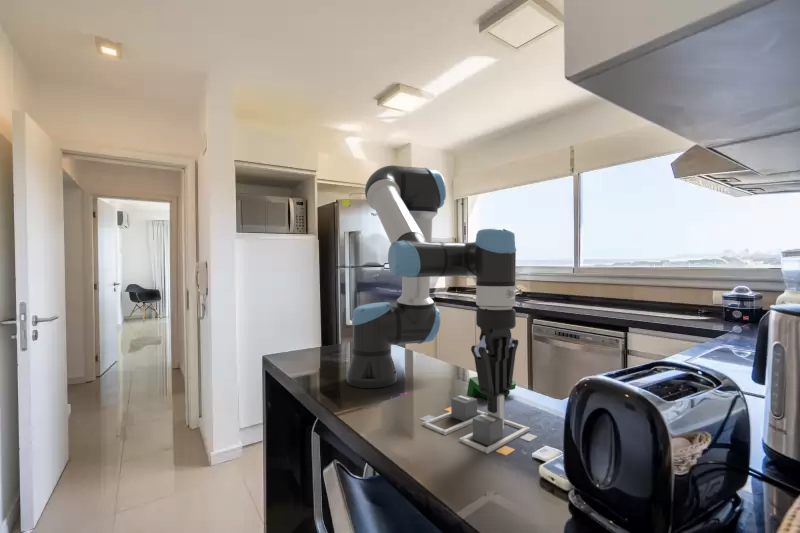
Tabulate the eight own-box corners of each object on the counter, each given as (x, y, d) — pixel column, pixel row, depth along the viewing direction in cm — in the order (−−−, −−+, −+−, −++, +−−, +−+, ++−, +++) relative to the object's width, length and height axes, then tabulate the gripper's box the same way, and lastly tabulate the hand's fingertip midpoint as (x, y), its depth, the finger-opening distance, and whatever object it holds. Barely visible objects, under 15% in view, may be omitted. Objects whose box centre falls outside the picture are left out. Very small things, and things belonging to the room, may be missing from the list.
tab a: (451, 416, 83) (451, 397, 83) (462, 412, 86) (462, 393, 86) (465, 422, 80) (465, 401, 80) (477, 417, 83) (477, 397, 83)
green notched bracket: (484, 421, 94) (478, 393, 91) (470, 407, 100) (464, 381, 96) (520, 397, 98) (516, 370, 95) (505, 385, 104) (500, 359, 100)
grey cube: (472, 439, 72) (472, 416, 72) (485, 433, 75) (485, 411, 75) (490, 446, 69) (490, 423, 69) (502, 439, 72) (502, 417, 72)
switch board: (407, 425, 81) (407, 418, 81) (460, 405, 93) (460, 398, 93) (503, 469, 63) (503, 460, 63) (554, 437, 75) (554, 429, 75)
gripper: (492, 311, 67) (492, 444, 67) (530, 306, 76) (530, 424, 75) (459, 308, 73) (459, 430, 72) (498, 304, 81) (498, 413, 81)
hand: (496, 427), depth 74 cm, fingers closed
